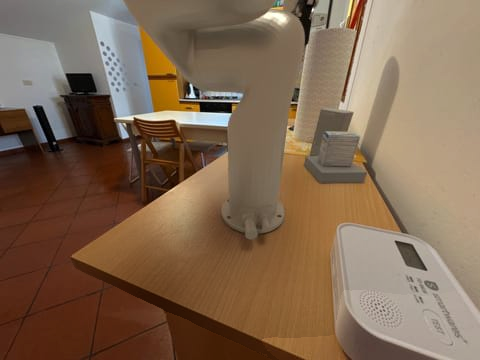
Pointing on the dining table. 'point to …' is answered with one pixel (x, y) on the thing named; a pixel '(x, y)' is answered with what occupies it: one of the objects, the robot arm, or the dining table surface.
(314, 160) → the grey base
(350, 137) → the medicine box
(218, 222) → the dining table surface
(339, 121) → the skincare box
